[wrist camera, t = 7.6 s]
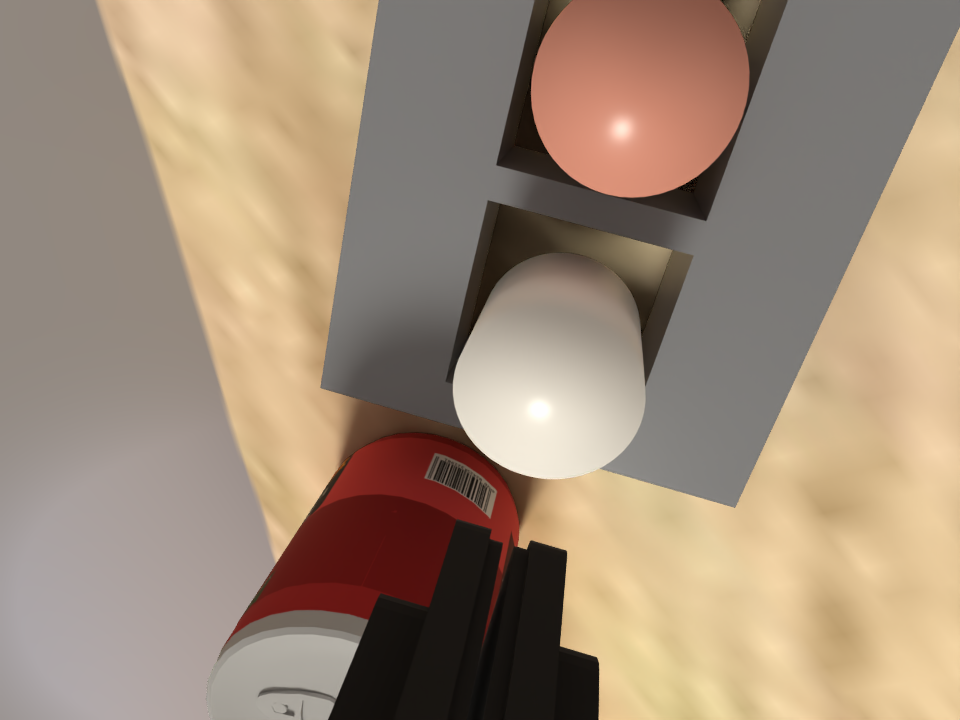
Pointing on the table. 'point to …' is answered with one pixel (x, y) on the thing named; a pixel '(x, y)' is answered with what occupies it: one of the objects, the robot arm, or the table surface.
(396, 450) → the canned food
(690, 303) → the grey slotted tray
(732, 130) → the pink rounded dome
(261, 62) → the table surface
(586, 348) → the white dome button
